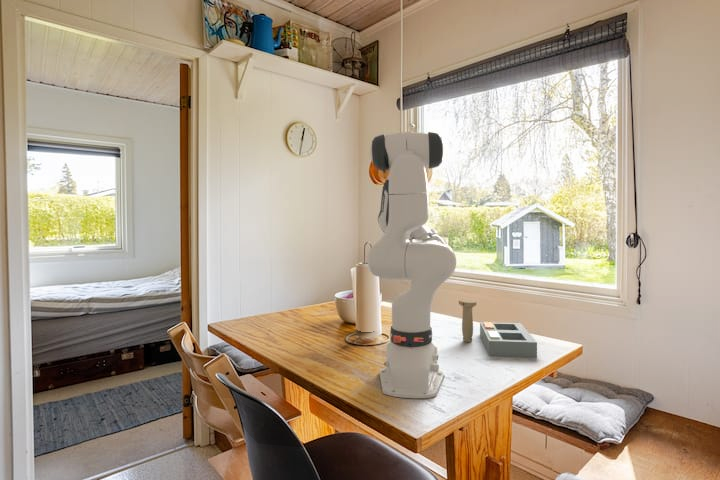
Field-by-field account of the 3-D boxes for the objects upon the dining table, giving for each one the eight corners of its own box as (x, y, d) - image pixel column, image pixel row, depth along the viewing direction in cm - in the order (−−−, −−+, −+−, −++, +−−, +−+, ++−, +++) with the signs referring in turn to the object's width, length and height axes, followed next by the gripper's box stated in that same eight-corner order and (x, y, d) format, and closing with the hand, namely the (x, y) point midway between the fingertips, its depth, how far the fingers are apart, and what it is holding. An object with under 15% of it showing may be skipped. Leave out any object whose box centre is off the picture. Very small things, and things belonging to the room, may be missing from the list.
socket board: (536, 357, 130) (537, 340, 130) (488, 355, 133) (488, 338, 132) (520, 336, 154) (520, 321, 153) (480, 334, 156) (480, 320, 156)
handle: (470, 344, 144) (470, 303, 143) (456, 340, 149) (456, 300, 148) (478, 341, 147) (478, 301, 146) (464, 337, 152) (464, 298, 151)
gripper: (407, 233, 151) (429, 262, 145) (437, 229, 166) (458, 255, 160) (398, 244, 154) (419, 272, 149) (428, 239, 169) (448, 264, 164)
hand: (439, 263), depth 155 cm, fingers open, 8 cm apart
